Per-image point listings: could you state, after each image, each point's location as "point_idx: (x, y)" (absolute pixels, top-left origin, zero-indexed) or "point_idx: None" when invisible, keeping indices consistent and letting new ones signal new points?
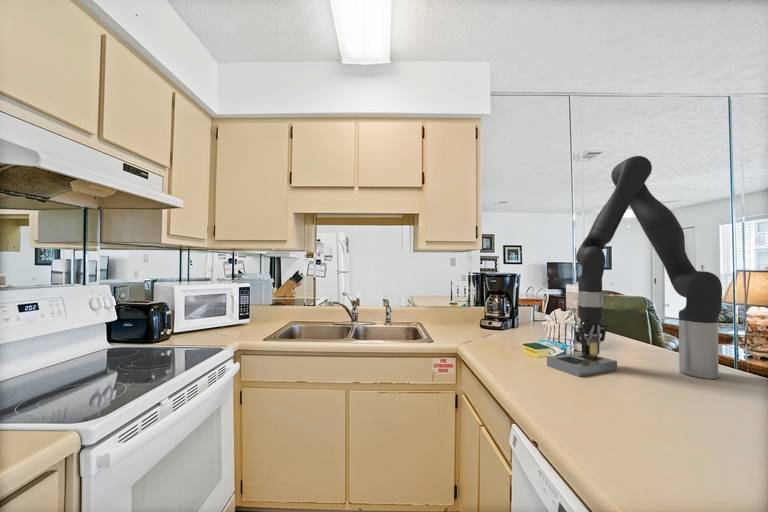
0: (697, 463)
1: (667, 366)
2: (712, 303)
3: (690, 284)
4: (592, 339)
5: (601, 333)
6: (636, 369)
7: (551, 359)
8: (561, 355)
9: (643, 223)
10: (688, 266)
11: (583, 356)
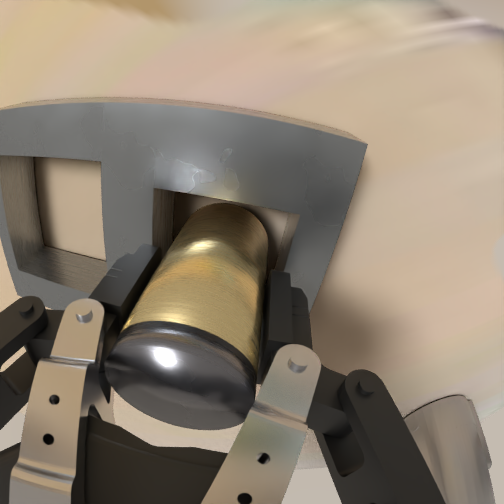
0: (25, 407)
1: (483, 368)
2: None
3: None
4: (178, 408)
5: (341, 480)
6: (383, 352)
7: None
8: (67, 113)
9: None
10: None
11: (232, 198)
